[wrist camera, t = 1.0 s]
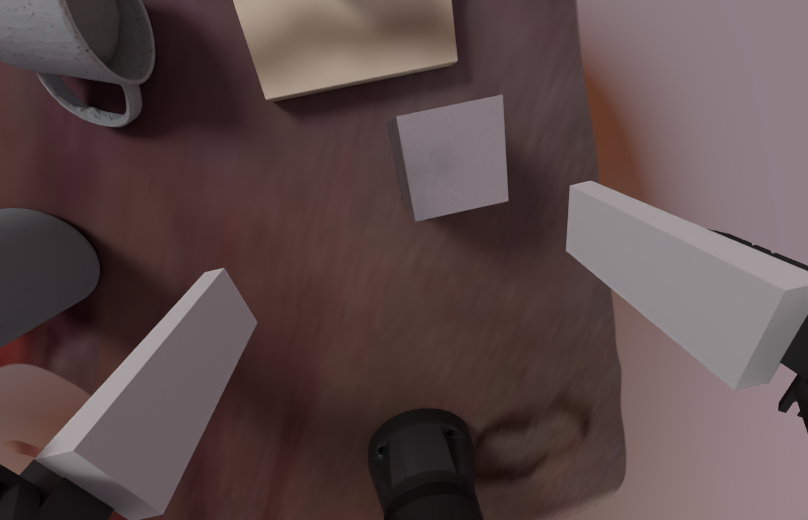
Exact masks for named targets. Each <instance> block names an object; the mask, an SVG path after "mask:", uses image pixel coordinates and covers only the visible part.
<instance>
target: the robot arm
mask: <svg viewBox="0 0 808 520" xmlns="http://www.w3.org/2000/svg"><path fill="white" fill-rule="evenodd" d="M566 251H567V252H568V253H569V254H571V255H572V256H573V257H574V258H575V259H577V260H578V261H579V262H580V263H581V264H583V265H584V266H585V267H586V268H587V269H589V270H590V271H591V272H592V273H593V274H595V275H596V276H597V277H598V278H599V279H601V280H602V281H603V282H604V283H605V284H607V285H608V286H609V287H610V288H611V289H613V290H614V291H615V292H616V293H617V294H619V295H620V296H621V297H622V298H624V299H625V300H626V301H627V302H628V303H630V304H631V305H632V306H633V307H634V308H636V309H637V310H638V311H639V312H640V313H642V314H643V315H644V316H645V317H646V318H648V319H649V320H650V321H651V322H652V323H654V324H655V325H656V326H657V327H658V328H660V329H661V330H662V331H663V332H664V333H666V334H667V335H668V336H669V337H671V338H672V339H673V340H674V341H675V342H676V343H678V344H679V345H680V346H681V347H682V348H684V349H685V350H686V351H687V352H688V353H690V354H691V355H692V356H693V357H694V358H696V359H697V360H698V361H699V362H700V363H702V364H703V365H704V366H705V367H706V368H708V369H709V370H710V371H711V372H712V373H714V374H715V375H716V376H717V377H719V378H720V379H721V380H722V381H723V382H724V383H726V384H727V385H728V386H729V387H731V388H732V389H733V390H738V389H743V388H747V387H751V386H756V385H761V384H765V383H769V382H770V380H771V379H772V377H773V375H774V374H775V372H776V370H777V368H778V367H779V365H780V363H782V364H784V365H785V366H787V367H788V368H789V369H791V370H792V371H794V372H795V373H797V376H796V377H795V379H794V381H793V382H792V383H791V385H790V387H789V388H788V390H787V391H786V393H785V394H784V396H783V397H782V399H781V400H780V402H779V407H778V411H781V412H785V413H786V412H787V411H788V409H789V408H790V406H791V405H792V403H793V402H798V405H799V408H800V412H799V413H798V416H799V417H802V418H803V420H804V423H805V426H806V429H807V432H808V266H807V265H805V264H802V263H800V262H797V261H795V260H792V259H790V258H787V257H785V256H782V255H780V254H777V253H773V254H772V253H771V251H770V250H768V249H765V248H763V247H760V246H758V245H753V246H752V243H750V242H748V241H745V240H743V239H740V238H738V237H735V236H733V235H731V234H727V233H723V232H719V231H714V230H710V229H705V228H702V227H701V226H698V225H696V224H693V223H691V222H689V221H686V220H684V219H681V218H679V217H676V216H674V215H672V214H669V213H667V212H665V211H662V210H660V209H657V208H655V207H653V206H650V205H648V204H645V203H643V202H641V201H638V200H636V199H634V198H631V197H628V196H626V195H624V194H622V193H619V192H617V191H614V190H612V189H610V188H607V187H605V186H602V185H600V184H598V183H595V182H593V181H587V182H583V183H579V184H575V185H571V186H570V194H569V210H568V227H567V243H566ZM256 324H257V321H256V319H255V318H254V316H253V315H252V313H251V311H250V310H249V308H248V306H247V305H246V303H245V301H244V300H243V298H242V296H241V295H240V293H239V291H238V290H237V288H236V287H235V285H234V283H233V282H232V280H231V278H230V277H229V275H228V273H227V272H226V270H225V268H222V269H218V270H213V271H209V272H205V273H204V274H203V275H202V276H201V277H200V278H199V279H198V280H197V282H196V283H195V284H194V285H193V286H192V287H191V288H190V289H189V290H188V291H187V293H186V294H185V295H184V296H183V297H182V298H181V299H180V300H179V301H178V302H177V303H176V305H175V306H174V307H173V308H172V309H171V310H170V311H169V312H168V313H167V314H166V316H165V317H164V318H163V319H162V320H161V321H160V322H159V323H158V324H157V325H156V326H155V328H154V329H153V330H152V331H151V332H150V333H149V334H148V335H147V336H146V337H145V339H144V340H143V341H142V342H141V343H140V344H139V345H138V346H137V347H136V348H135V349H134V351H133V352H132V353H131V354H130V355H129V356H128V357H127V358H126V359H125V360H124V362H123V363H122V364H121V365H120V366H119V367H118V368H117V369H116V370H115V371H114V372H113V374H112V375H111V376H110V377H109V378H108V379H107V380H106V381H105V382H104V383H103V384H102V385H101V387H100V388H99V389H98V390H97V391H96V392H95V393H94V394H93V395H92V397H91V398H90V399H89V400H88V401H87V402H86V403H85V404H84V405H83V406H82V408H81V409H80V410H79V411H78V412H77V413H76V414H75V415H74V416H73V417H72V418H71V419H70V420H69V422H68V423H67V424H66V425H65V426H64V427H63V428H62V430H60V431H59V433H58V434H57V435H56V436H55V437H54V438H53V439H52V440H51V441H50V442H49V443H48V445H47V446H46V447H45V448H44V449H43V450H42V451H41V452H40V453H39V454H38V456H37V457H36V458H35V459H34V460H33V461H32V462H31V463H30V464H29V466H27V468H26V469H25V470H24V471H23V472H22V473H21V474H20V475H17V474H16V473H14V472H12V471H11V470H9V469H7V468H6V467H4V466H2V465H0V520H107V519H108V518H109V516H110V515H111V513H112V511H113V510H114V511H116V512H117V513H119V514H121V515H122V516H124V517H125V518H127V519H128V520H140V519H144V518H149V517H153V516H158V515H163V513H164V511H165V509H166V507H167V505H168V503H169V501H170V499H171V497H172V495H173V493H174V491H175V489H176V487H177V485H178V483H179V481H180V479H181V477H182V475H183V473H184V471H185V469H186V466H187V464H188V462H189V460H190V458H191V456H192V454H193V452H194V450H195V448H196V446H197V444H198V442H199V440H200V438H201V436H202V434H203V432H204V430H205V428H206V426H207V424H208V422H209V420H210V418H211V416H212V414H213V412H214V410H215V408H216V405H217V403H218V401H219V399H220V397H221V395H222V393H223V391H224V389H225V387H226V385H227V383H228V381H229V379H230V377H231V375H232V373H233V371H234V369H235V367H236V365H237V363H238V361H239V359H240V357H241V355H242V353H243V351H244V349H245V347H246V344H247V342H248V340H249V338H250V336H251V334H252V332H253V330H254V328H255V326H256ZM368 464H369V471H370V475H371V478H372V481H373V484H374V487H375V490H376V492H377V495H378V498H379V501H380V504H381V507H382V510H383V513H384V520H484V519H483V516H482V513H481V510H480V507H479V504H478V500H477V497H476V493H475V467H474V447H473V443H472V440H471V437H470V434H469V431H468V429H467V427H466V425H465V424H464V422H463V421H462V420H461V419H460V418H458V417H457V416H455V415H453V414H451V413H449V412H446V411H442V410H437V409H419V410H413V411H409V412H406V413H403V414H400V415H398V416H396V417H394V418H392V419H390V420H389V421H387V422H386V423H384V424H383V425H382V426H381V427H380V428H379V429H378V430H377V431H376V432H375V434H374V435H373V437H372V439H371V441H370V444H369V449H368Z"/></svg>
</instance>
